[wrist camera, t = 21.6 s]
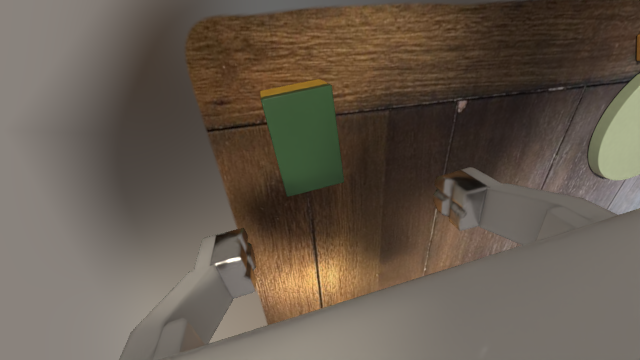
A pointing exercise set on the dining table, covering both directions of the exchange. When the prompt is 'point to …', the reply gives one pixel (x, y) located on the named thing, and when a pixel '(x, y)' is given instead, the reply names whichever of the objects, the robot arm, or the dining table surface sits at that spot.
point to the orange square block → (638, 48)
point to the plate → (618, 136)
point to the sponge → (304, 135)
